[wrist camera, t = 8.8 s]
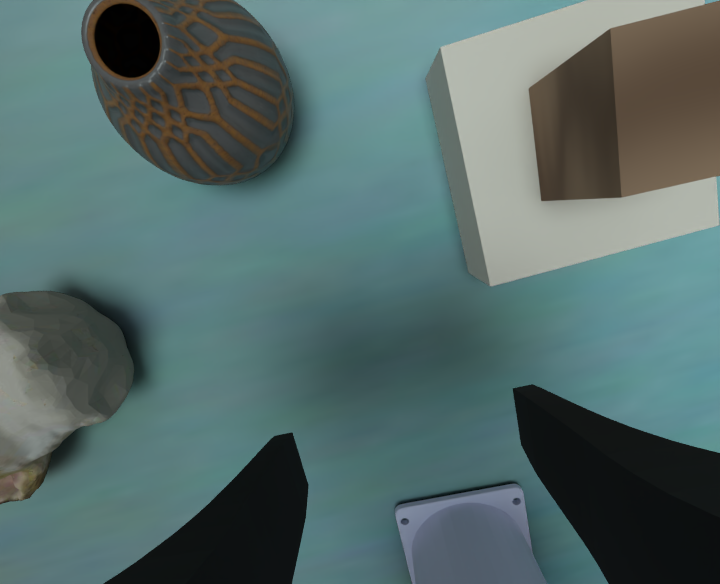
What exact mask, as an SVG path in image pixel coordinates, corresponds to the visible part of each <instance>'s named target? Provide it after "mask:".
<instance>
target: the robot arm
mask: <svg viewBox="0 0 720 584" xmlns="http://www.w3.org/2000/svg"><path fill="white" fill-rule="evenodd" d="M513 394H514V400H515V407H516V414H517V420H518V427H519V434H520V440H521V445H522V447H523V449H524V451H525V453H526V455H527V457H528V459H529V461H530V463H531V465H532V466H533V468H534V470H535V472H536V474H537V475H538V477H539V478H540V480H541V481H542V483H543V484H544V486H545V487H546V489H547V490H548V492H549V493H550V495H551V496H552V497H553V499H554V500H555V502H556V503H557V505H558V506H559V508H560V509H561V510H562V512H563V513H564V515H565V516H566V518H567V519H568V520H569V522H570V523H571V525H572V526H573V528H574V529H575V531H576V532H577V533H578V535H579V536H580V538H581V539H582V541H583V542H584V544H585V545H586V547H587V548H588V550H589V551H590V553H591V554H592V556H593V558H594V559H595V561H596V562H597V564H598V566H599V567H600V569H601V571H602V573H603V574H604V576H605V578H606V580H607V581H608V583H609V584H720V453H717V452H713V451H709V450H705V449H701V448H697V447H693V446H689V445H686V444H682V443H679V442H675V441H672V440H668V439H665V438H662V437H659V436H656V435H653V434H650V433H647V432H643V431H641V430H638V429H635V428H632V427H629V426H627V425H624V424H622V423H619V422H616V421H614V420H611V419H609V418H606V417H604V416H601V415H599V414H597V413H594V412H592V411H590V410H587V409H585V408H583V407H581V406H578V405H576V404H574V403H572V402H570V401H568V400H565V399H563V398H561V397H559V396H557V395H555V394H553V393H551V392H548V391H546V390H544V389H542V388H540V387H537V386H535V385H527V386H522V387H517V388H513ZM307 497H308V482H307V479H306V476H305V472H304V469H303V466H302V463H301V459H300V456H299V453H298V449H297V446H296V443H295V440H294V436H293V433H287V434H282V435H277V436H274V437H273V438H272V439H271V440H270V441H269V442H268V443H267V444H266V445H265V446H264V447H263V448H262V449H261V450H260V451H259V452H258V453H257V455H256V456H255V457H254V458H253V459H252V460H251V461H250V462H249V463H248V464H247V465H246V466H245V467H244V469H243V470H242V471H241V472H240V473H239V474H238V475H237V476H236V477H235V478H234V479H233V480H232V481H231V482H230V483H229V484H228V485H227V486H226V487H225V488H224V489H223V490H222V491H221V492H220V493H219V494H218V495H217V496H216V497H215V498H214V499H213V500H212V501H211V502H210V503H209V504H208V505H207V506H206V507H205V508H204V509H202V510H201V511H200V512H199V513H198V514H197V515H196V516H195V517H193V518H192V519H191V520H190V521H189V522H187V523H186V524H185V525H184V526H183V527H182V528H180V529H179V530H178V531H177V532H175V533H174V534H173V535H172V536H170V537H169V538H168V539H166V540H165V541H164V542H162V543H161V544H160V545H158V546H157V547H156V548H154V549H153V550H152V551H150V552H149V553H148V554H146V555H145V556H144V557H142V558H141V559H140V560H138V561H137V562H135V563H134V564H132V565H131V566H130V567H128V568H127V569H125V570H124V571H122V572H121V573H119V574H118V575H116V576H115V577H113V578H112V579H110V580H108V581H107V582H105V583H104V584H292V580H293V575H294V571H295V566H296V561H297V557H298V552H299V547H300V543H301V538H302V533H303V528H304V523H305V518H306V509H307ZM515 498H517V499H516V500H513V499H515ZM395 516H396V520H397V524H398V529H399V533H400V537H401V541H402V545H403V549H404V553H405V557H406V561H407V565H408V569H409V573H410V577H411V581H412V584H547V582H546V580H545V578H544V576H543V574H542V572H541V570H540V568H539V566H538V564H537V561H536V559H535V557H534V555H533V552H532V546H531V539H530V533H529V526H528V520H527V513H526V506H525V500H524V493H523V491H522V489H521V487H520V486H519V485H518V484H508V485H503V486H497V487H492V488H486V489H481V490H475V491H470V492H465V493H459V494H454V495H448V496H443V497H437V498H432V499H426V500H421V501H416V502H410V503H405V504H400V505H398V506H397V507H396V508H395ZM403 518H407V519H406V520H402V519H403Z"/></svg>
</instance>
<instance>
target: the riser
mask: <svg viewBox="0 0 720 584" xmlns="http://www.w3.org/2000/svg"><path fill="white" fill-rule="evenodd" d="M701 5H705V0H587V1H584V2H580V3H577V4H574V5H571V6H568V7H565V8H562V9H559V10H555V11H552V12H549V13H546V14H543V15H540V16H537V17H533V18H530V19H527V20H524V21H521V22H518V23H515V24H512V25H508V26H505V27H502V28H499V29H496V30H493V31H490V32H487V33H483V34H480V35H477V36H474V37H471V38H468V39H465V40H462V41H458V42H455V43H452V44H449V45H446V46H443V47H440V49H439V51H438V53H437V55H436V57H435V60H434V62H433V64H432V66H431V68H430V70H429V72H428V74H427V76H426V83H427V88H428V92H429V97H430V101H431V106H432V110H433V115H434V119H435V124H436V128H437V133H438V137H439V142H440V146H441V151H442V155H443V160H444V164H445V169H446V173H447V178H448V182H449V187H450V192H451V196H452V201H453V205H454V210H455V214H456V219H457V223H458V228H459V232H460V237H461V241H462V246H463V250H464V255H465V259H466V264H467V268H468V273H469V274H471V275H473V276H474V277H476V278H477V279H479V280H481V281H482V282H484V283H485V284H487V285H489V286H490V287H491V286H495V285H499V284H502V283H506V282H510V281H514V280H517V279H521V278H525V277H528V276H532V275H536V274H540V273H543V272H547V271H551V270H554V269H558V268H562V267H566V266H569V265H573V264H577V263H581V262H584V261H588V260H592V259H595V258H599V257H603V256H607V255H610V254H614V253H618V252H621V251H625V250H629V249H633V248H636V247H640V246H644V245H648V244H651V243H655V242H659V241H662V240H666V239H670V238H674V237H677V236H681V235H685V234H688V233H692V232H696V231H700V230H703V229H707V228H711V227H715V226H718V225H719V214H718V198H717V183H716V177H711V178H707V179H703V180H698V181H694V182H689V183H685V184H680V185H676V186H671V187H667V188H662V189H658V190H653V191H649V192H645V193H640V194H636V195H631V196H627V197H622V198H602V199H579V200H557V201H541V194H540V185H539V176H538V168H537V159H536V150H535V141H534V133H533V124H532V115H531V106H530V97H529V89H528V88H530V87H531V86H533V85H534V84H535V83H537V82H538V81H539V80H541V79H542V78H543V77H545V76H546V75H547V74H549V73H550V72H552V71H553V70H554V69H556V68H557V67H558V66H560V65H561V64H562V63H564V62H565V61H567V60H568V59H569V58H571V57H572V56H573V55H575V54H576V53H577V52H579V51H580V50H581V49H583V48H584V47H586V46H587V45H588V44H590V43H591V42H592V41H594V40H595V39H596V38H598V37H599V36H600V35H602V34H603V33H605V32H606V31H607V30H609V29H610V28H613V27H617V26H621V25H625V24H629V23H633V22H637V21H641V20H645V19H649V18H653V17H657V16H661V15H665V14H669V13H673V12H677V11H681V10H685V9H689V8H693V7H697V6H701Z"/></svg>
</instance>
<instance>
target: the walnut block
mask: <svg viewBox="0 0 720 584" xmlns="http://www.w3.org/2000/svg"><path fill="white" fill-rule="evenodd" d="M528 89H529V97H530V106H531V115H532V124H533V133H534V141H535V150H536V159H537V168H538V176H539V185H540V194H541V201H557V200H579V199H602V198H622V197H627V196H631V195H636V194H640V193H645V192H649V191H653V190H658V189H662V188H667V187H671V186H676V185H680V184H685V183H689V182H694V181H698V180H703V179H707V178H711V177H716V176H720V1H716V2H712V3H708V4H705V5H701V6H697V7H693V8H689V9H685V10H681V11H677V12H673V13H669V14H665V15H661V16H657V17H653V18H649V19H645V20H641V21H637V22H633V23H629V24H625V25H621V26H617V27H613V28H610V29H609V30H607V31H606V32H605V33H603V34H602V35H600V36H599V37H598V38H596V39H595V40H594V41H592V42H591V43H590V44H588V45H587V46H586V47H584V48H583V49H581V50H580V51H579V52H577V53H576V54H575V55H573V56H572V57H571V58H569V59H568V60H567V61H565V62H564V63H562V64H561V65H560V66H558V67H557V68H556V69H554V70H553V71H552V72H550V73H549V74H547V75H546V76H545V77H543V78H542V79H541V80H539V81H538V82H537V83H535V84H534V85H533V86H531V87H530V88H528Z"/></svg>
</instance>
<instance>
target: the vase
mask: <svg viewBox="0 0 720 584" xmlns="http://www.w3.org/2000/svg"><path fill="white" fill-rule="evenodd" d="M81 34H82V43H83V47H84V51H85V53H86V56H87V58H88V60H89V62H90V64H91V70H92V77H93V82H94V86H95V89H96V92H97V95H98V98H99V100H100V103H101V105H102V107H103V109H104V111H105V113H106V115H107V117H108V118H109V120H110V122H111V123H112V125H113V126H114V127H115V129H116V130H117V132H118V133H119V134H120V135H121V137H122V138H123V139H124V140H125V141H126V142H127V143H128V144H129V145H130V146H131V147H132V148H133V149H134V150H135V151H136V152H137V153H138V154H140V155H141V156H142V157H143V158H145V159H146V160H147V161H149V162H150V163H151V164H153V165H154V166H156V167H157V168H159V169H161V170H162V171H164V172H166V173H168V174H170V175H173V176H175V177H177V178H180V179H182V180H186V181H189V182H194V183H198V184H205V185H230V184H237V183H241V182H244V181H247V180H249V179H251V178H254V177H255V176H257V175H259V174H260V173H262V172H263V171H265V170H266V169H267V168H269V167H270V166H271V165H272V164H273V163H274V162H275V161H276V159H277V158H278V157H279V155H280V154H281V153H282V151H283V149H284V147H285V145H286V143H287V141H288V139H289V136H290V133H291V129H292V124H293V116H294V97H293V90H292V85H291V81H290V77H289V74H288V71H287V68H286V66H285V63H284V61H283V59H282V57H281V54H280V52H279V51H278V49H277V47H276V45H275V44H274V42H273V40H272V39H271V37H270V36H269V34H268V33H267V32H266V30H265V29H264V28H263V26H262V25H261V24H260V23H259V22H258V21H257V20H256V19H255V18H254V17H253V16H252V15H251V14H250V13H249V12H248V11H247V10H246V9H245V8H243V7H242V6H241V5H239V4H238V3H237V2H235V1H234V0H93V1H92V2H91V3H90V5H89V6H88V8H87V10H86V12H85V14H84V17H83V21H82V30H81Z"/></svg>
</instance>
